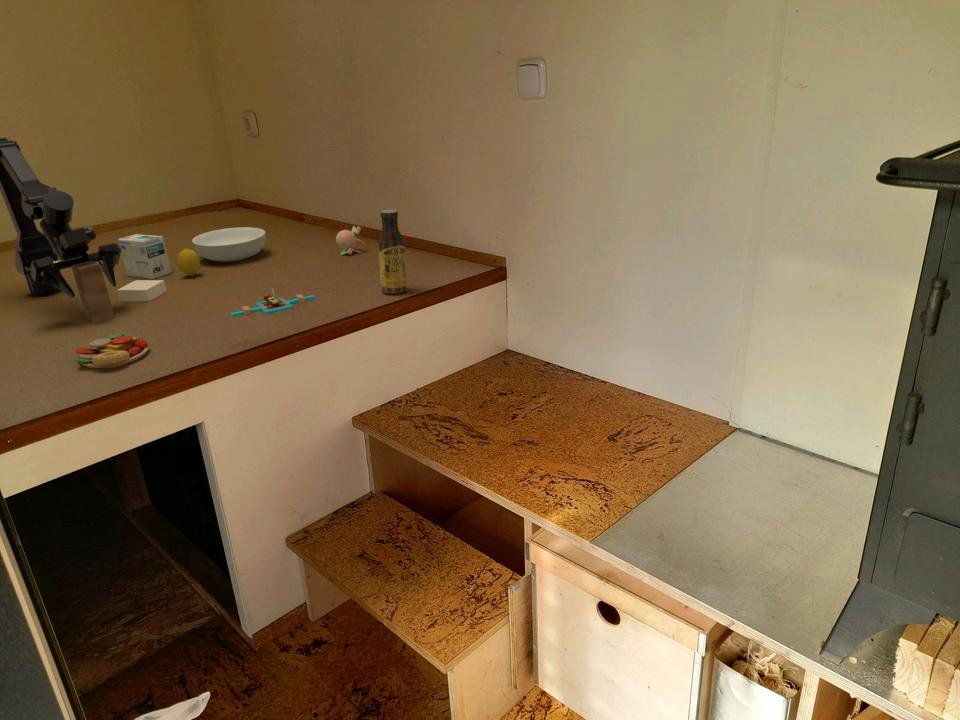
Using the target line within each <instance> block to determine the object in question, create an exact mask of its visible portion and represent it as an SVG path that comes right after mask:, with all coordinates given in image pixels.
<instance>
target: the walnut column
mask: <svg viewBox="0 0 960 720" xmlns="http://www.w3.org/2000/svg"><path fill="white" fill-rule="evenodd" d="M70 268H71V270H72V273H73V277H74V280H75V284H76V287H77V290H78V293H79V297H80V299H81V303H82V308H83V310H84V314H85V317H86V320H88V321H89V322H91V323H93V322H94V324H98V323H101V322H105V321H107V320H111V319H114V318H116V317H115V314H114V309H113V306H112V303H111V299H110V295H109V292H108V287H107V285H106V280H105V277H104V272H103V271H102V266H101V265H100V264H99V262H93V261H90V262H86V263H81V264H77V265H72V266H71V267H70ZM97 322H98V323H97Z"/></svg>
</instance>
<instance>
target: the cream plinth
mask: <svg viewBox="0 0 960 720" xmlns="http://www.w3.org/2000/svg"><path fill="white" fill-rule="evenodd" d="M116 291H117V296H118V301H119V302H151V301H152V300H155V299H157V298H158V297H160V296H161V295H163V294H165V293H167V286H166V282H165V280H162V279H158V280H157V279H156V280H155V279H152V280H151V279H149V280H146V279H145V280H141V279H138V280H133V281H131V282H130V283H129V282H128V284H126V285H124V286H122V287H121V288H118V289H117V290H116Z"/></svg>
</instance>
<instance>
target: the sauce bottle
mask: <svg viewBox="0 0 960 720" xmlns="http://www.w3.org/2000/svg"><path fill="white" fill-rule="evenodd" d="M380 218H381V228H382V229H381V232H380V235H379V238H378V259H379V273H380V274H379V275H380V277H379V278H380V286H381V291H382V293H384V294H385V295H387V294H388V295H398V294H402V293H404V291H405V292H406V289H407V287H406V285H407V273H406V272H407V271H406V255H405V254H406V253H405V243H404V238H403V235H402V233H401V232H400V229H399V225H398V224H399V223H398V221H399V220H398V218H399V214H398V210H397V209H384V210H381V211H380ZM401 292H402V293H401Z"/></svg>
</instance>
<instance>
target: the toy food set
mask: <svg viewBox="0 0 960 720" xmlns="http://www.w3.org/2000/svg"><path fill="white" fill-rule="evenodd" d="M149 349H150V346H149V344H148V342H147V341H146V340H145V339H144V338H138V337H134V336H130V335H125V334H124V333H123V332H114V333H109V334H107V335H106V336H105V337H104V338H98V339H95V340H93V341H91V342H89V347H82V348H78V349H75V353H76V354H77V355H78V354H79V357H77V358H76V359H75V362H76V363H79V364H80V365H82V366H84V367H86V366H87V367H86V368H88V367H91V368H90V369H93V368H106V369H111V368H110V367H113V368H116V367H115V366H118V367H120V366H119V365H122V366H124V365H123V364H126V365H128V364H127V363H129V364H131V363H130V362H132V361H134V362H136V361H138V360H140V359H141V358H143V357H144V356H145V355H146V354H147V353H148V350H149ZM144 354H145V355H144ZM143 355H144V356H143ZM142 356H143V357H142ZM140 357H141V358H140ZM139 358H140V359H139ZM137 359H138V360H137ZM135 360H136V361H135ZM132 363H133V362H132Z"/></svg>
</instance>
